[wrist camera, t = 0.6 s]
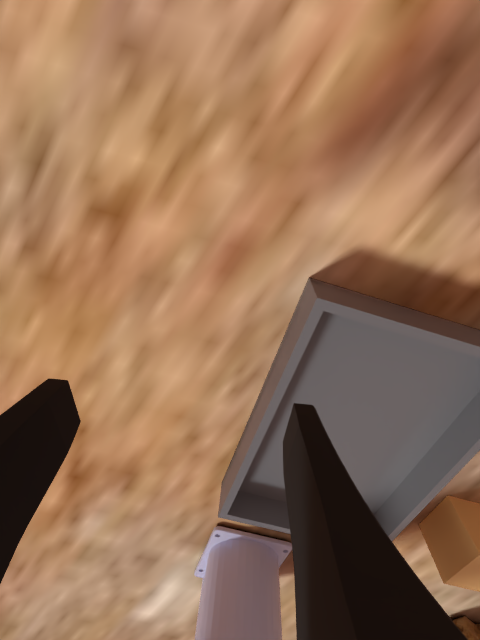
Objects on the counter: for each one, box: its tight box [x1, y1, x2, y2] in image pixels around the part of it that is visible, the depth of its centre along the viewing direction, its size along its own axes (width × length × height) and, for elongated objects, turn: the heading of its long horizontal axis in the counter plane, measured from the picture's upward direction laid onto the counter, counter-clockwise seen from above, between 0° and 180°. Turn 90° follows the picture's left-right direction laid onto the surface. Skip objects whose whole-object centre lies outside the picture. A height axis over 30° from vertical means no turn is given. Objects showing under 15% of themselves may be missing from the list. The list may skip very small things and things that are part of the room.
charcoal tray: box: [218, 278, 480, 541], centre depth 23 cm, size 20×14×3 cm
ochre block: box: [419, 496, 480, 592], centre depth 26 cm, size 5×5×5 cm
